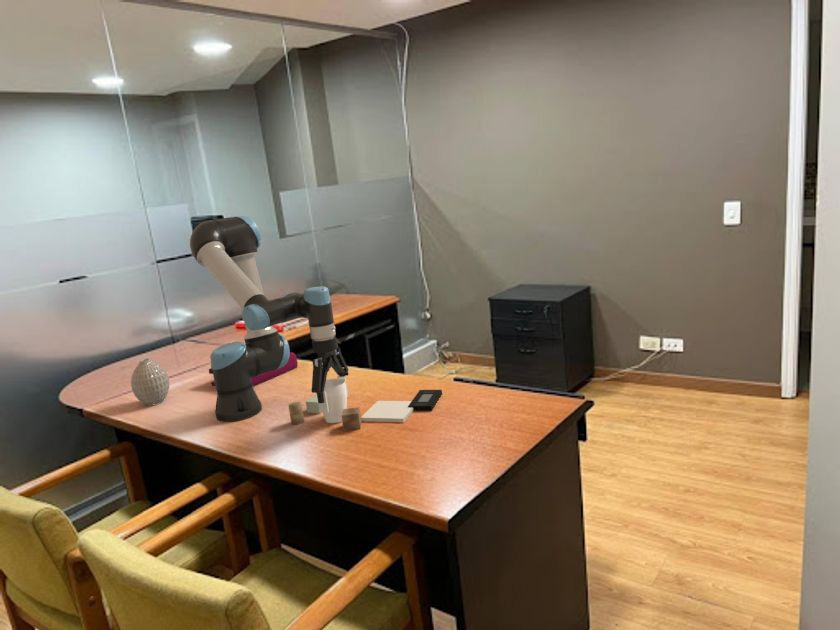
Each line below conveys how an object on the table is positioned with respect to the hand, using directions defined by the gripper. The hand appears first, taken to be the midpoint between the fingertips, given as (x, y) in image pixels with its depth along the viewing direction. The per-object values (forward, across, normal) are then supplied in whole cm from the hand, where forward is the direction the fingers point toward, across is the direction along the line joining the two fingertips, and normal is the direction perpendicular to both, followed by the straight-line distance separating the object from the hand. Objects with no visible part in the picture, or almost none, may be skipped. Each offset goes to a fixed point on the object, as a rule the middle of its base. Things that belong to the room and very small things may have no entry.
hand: (334, 404), depth 192 cm
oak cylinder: (+5, -3, +12) cm, 14 cm away
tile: (+5, +6, -16) cm, 18 cm away
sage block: (+5, +8, +10) cm, 14 cm away
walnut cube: (+5, -5, -8) cm, 10 cm away
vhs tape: (+6, +15, -24) cm, 29 cm away
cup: (+5, 0, 0) cm, 5 cm away
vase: (+4, +11, +81) cm, 82 cm away
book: (+5, +40, +57) cm, 70 cm away
